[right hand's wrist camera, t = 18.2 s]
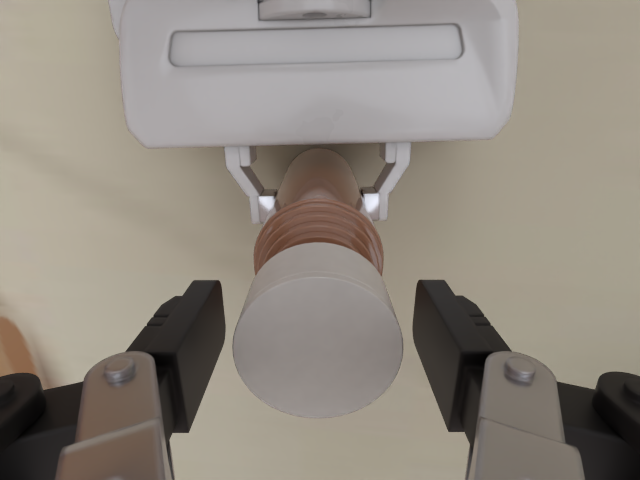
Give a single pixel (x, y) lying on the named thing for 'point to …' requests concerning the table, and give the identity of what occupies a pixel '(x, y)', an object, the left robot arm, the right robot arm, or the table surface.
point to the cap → (318, 332)
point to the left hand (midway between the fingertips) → (320, 219)
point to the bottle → (319, 210)
